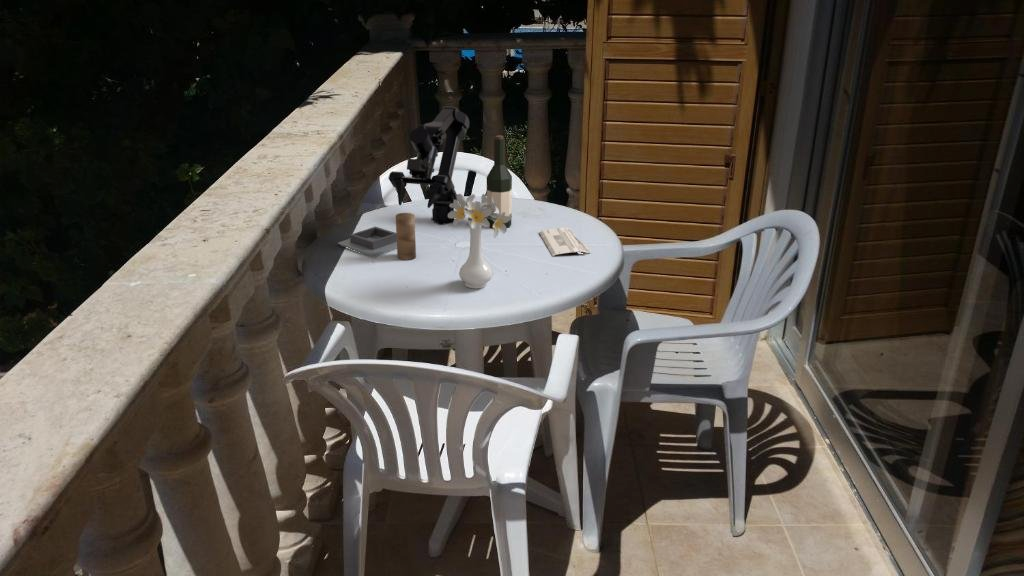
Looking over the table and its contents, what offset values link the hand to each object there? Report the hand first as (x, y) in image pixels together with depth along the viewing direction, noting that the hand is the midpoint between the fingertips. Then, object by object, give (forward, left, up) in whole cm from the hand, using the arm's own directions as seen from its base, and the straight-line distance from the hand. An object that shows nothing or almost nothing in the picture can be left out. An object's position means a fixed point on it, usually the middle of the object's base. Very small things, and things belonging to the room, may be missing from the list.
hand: (413, 205), depth 245 cm
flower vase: (0, +35, -14) cm, 38 cm away
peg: (+6, +5, -14) cm, 16 cm away
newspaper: (-41, +22, -14) cm, 49 cm away
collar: (+9, -10, -14) cm, 19 cm away
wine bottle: (-34, -4, -14) cm, 37 cm away
